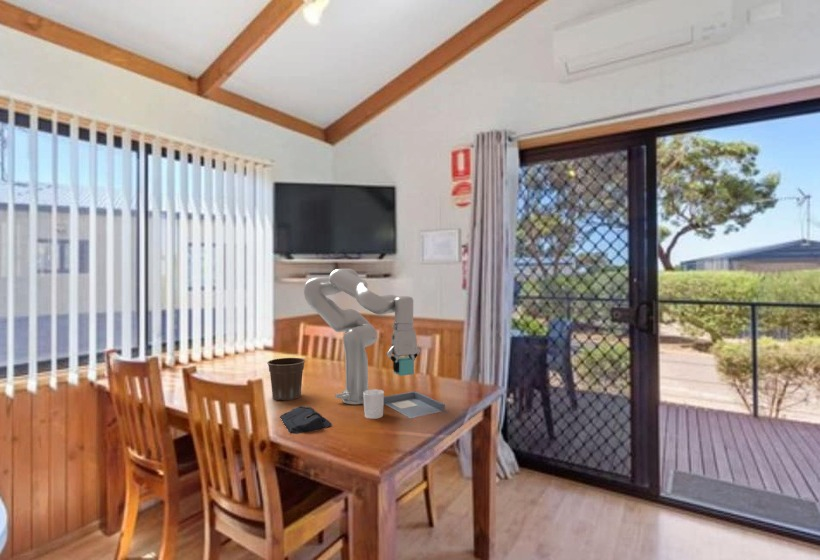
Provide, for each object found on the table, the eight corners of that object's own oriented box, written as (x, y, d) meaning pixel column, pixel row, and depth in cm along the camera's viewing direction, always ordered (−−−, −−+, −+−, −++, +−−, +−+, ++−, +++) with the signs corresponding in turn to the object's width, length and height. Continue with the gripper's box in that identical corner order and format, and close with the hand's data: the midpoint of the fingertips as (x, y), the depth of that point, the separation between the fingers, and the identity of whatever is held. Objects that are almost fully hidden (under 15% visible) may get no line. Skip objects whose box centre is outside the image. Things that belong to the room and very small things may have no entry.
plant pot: (293, 389, 210) (292, 355, 210) (313, 396, 199) (312, 360, 199) (261, 397, 198) (260, 361, 198) (280, 404, 187) (279, 366, 187)
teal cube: (400, 375, 178) (400, 361, 178) (393, 372, 183) (393, 358, 183) (413, 374, 181) (413, 359, 181) (406, 370, 186) (406, 356, 186)
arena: (410, 420, 166) (409, 411, 166) (382, 405, 185) (382, 397, 185) (444, 413, 175) (444, 404, 175) (415, 399, 194) (415, 391, 193)
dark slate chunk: (316, 411, 180) (315, 399, 180) (333, 428, 161) (333, 415, 160) (277, 417, 173) (277, 405, 173) (291, 437, 153) (290, 423, 153)
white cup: (373, 413, 175) (373, 388, 175) (388, 417, 170) (388, 391, 170) (359, 418, 169) (358, 392, 169) (374, 423, 164) (373, 396, 164)
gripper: (389, 329, 174) (389, 375, 174) (426, 326, 182) (426, 370, 183) (380, 327, 180) (380, 371, 181) (417, 324, 189) (416, 366, 190)
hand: (403, 370), depth 182 cm, fingers closed on teal cube, 6 cm apart
